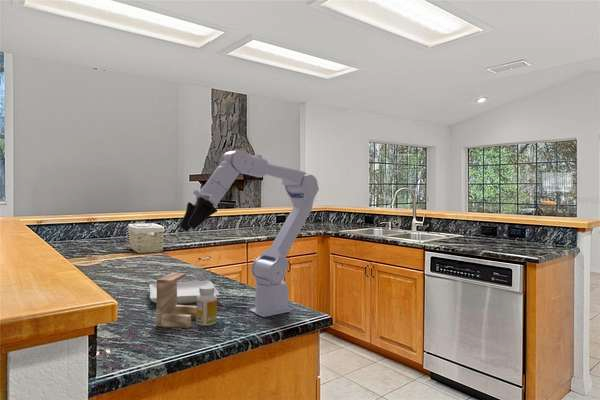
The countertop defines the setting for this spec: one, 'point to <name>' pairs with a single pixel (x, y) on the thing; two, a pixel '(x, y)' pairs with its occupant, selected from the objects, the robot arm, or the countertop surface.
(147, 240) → the storage basket
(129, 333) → the countertop surface
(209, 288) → the supplement bottle
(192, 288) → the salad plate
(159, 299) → the socket station
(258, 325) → the countertop surface
